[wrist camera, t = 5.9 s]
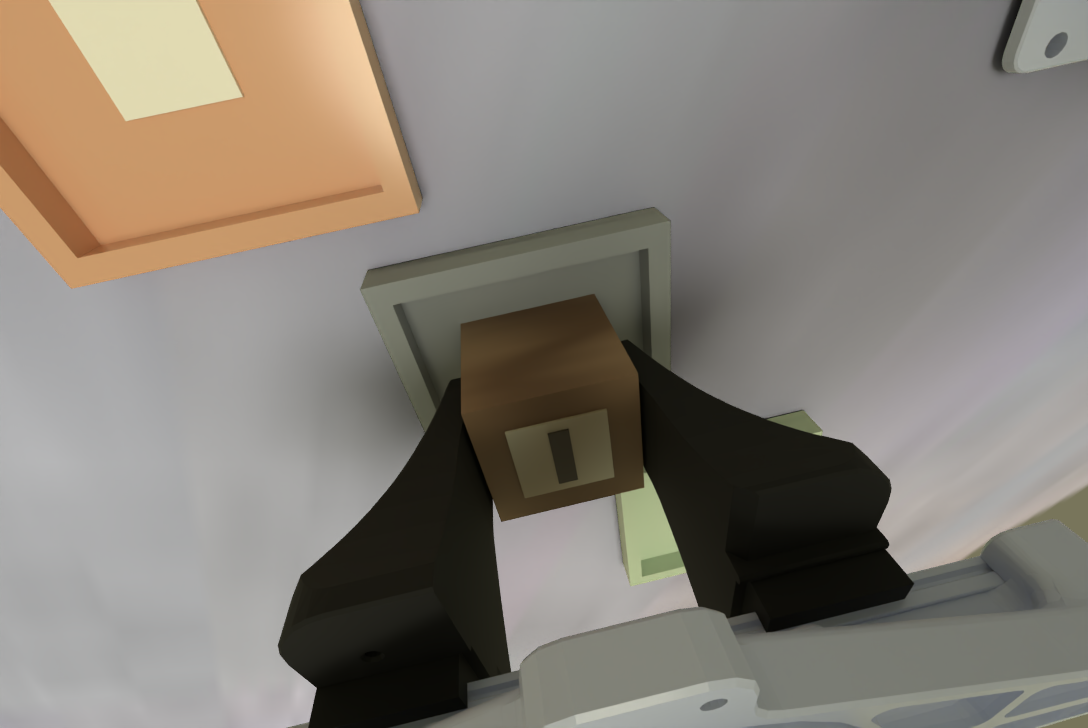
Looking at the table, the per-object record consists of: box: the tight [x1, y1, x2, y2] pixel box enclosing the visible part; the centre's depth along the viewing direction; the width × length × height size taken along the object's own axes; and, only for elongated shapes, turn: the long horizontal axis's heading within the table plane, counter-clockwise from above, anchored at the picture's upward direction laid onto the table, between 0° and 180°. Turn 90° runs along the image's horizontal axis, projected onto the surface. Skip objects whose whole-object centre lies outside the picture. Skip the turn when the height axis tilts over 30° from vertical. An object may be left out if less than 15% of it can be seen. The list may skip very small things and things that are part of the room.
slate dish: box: [360, 207, 671, 432], centre depth 14 cm, size 8×8×1 cm
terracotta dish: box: [0, 0, 422, 289], centre depth 8 cm, size 8×8×1 cm
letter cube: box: [461, 294, 644, 522], centre depth 13 cm, size 4×4×4 cm
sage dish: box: [615, 411, 823, 586], centre depth 20 cm, size 8×8×1 cm
